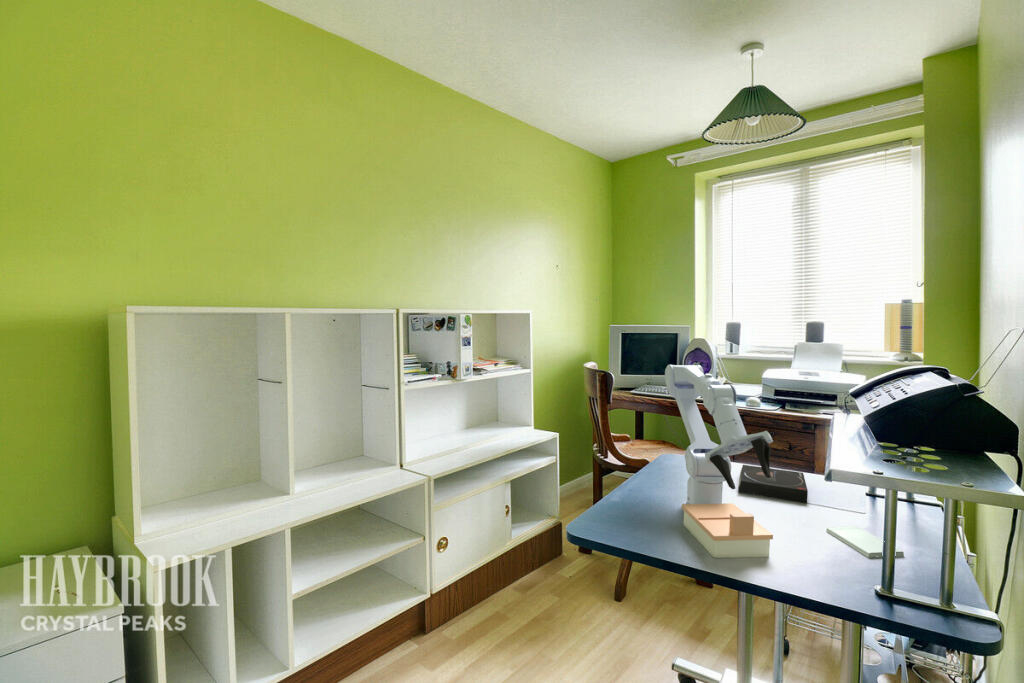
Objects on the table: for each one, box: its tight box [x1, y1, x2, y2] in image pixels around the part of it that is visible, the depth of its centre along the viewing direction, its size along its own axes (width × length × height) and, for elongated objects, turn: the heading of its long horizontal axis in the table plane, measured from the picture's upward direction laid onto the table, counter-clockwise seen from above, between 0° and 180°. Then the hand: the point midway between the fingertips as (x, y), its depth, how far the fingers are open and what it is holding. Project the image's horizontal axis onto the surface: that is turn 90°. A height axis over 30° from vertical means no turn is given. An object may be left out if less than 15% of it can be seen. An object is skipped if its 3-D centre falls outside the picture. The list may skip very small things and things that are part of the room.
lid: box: [681, 502, 774, 541], centre depth 112 cm, size 17×13×5 cm
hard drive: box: [825, 526, 905, 558], centre depth 112 cm, size 2×8×12 cm
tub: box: [683, 510, 771, 559], centre depth 113 cm, size 16×12×4 cm
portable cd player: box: [737, 464, 809, 504], centre depth 145 cm, size 16×17×4 cm
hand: (749, 481), depth 105 cm, fingers open, 7 cm apart
